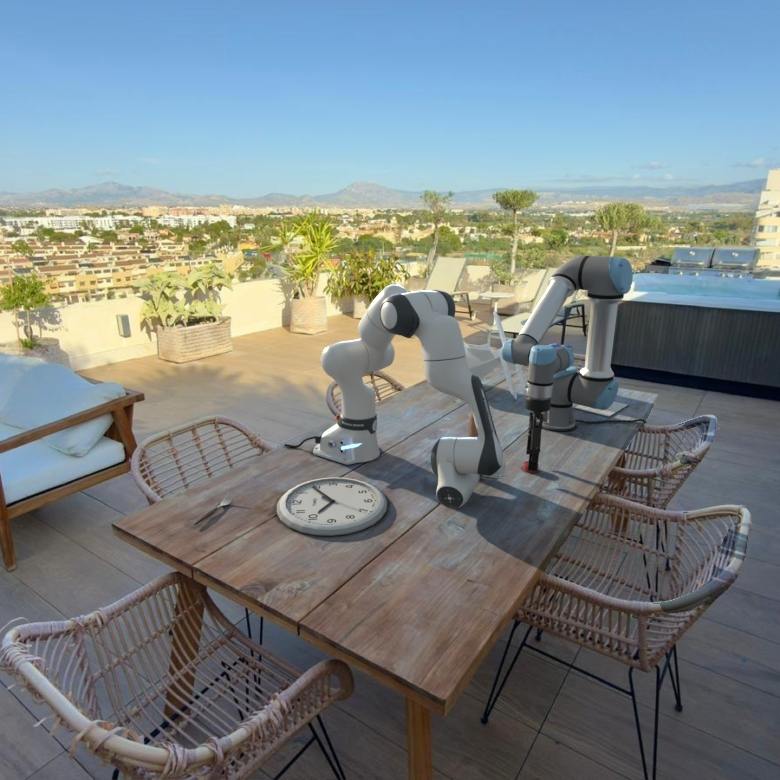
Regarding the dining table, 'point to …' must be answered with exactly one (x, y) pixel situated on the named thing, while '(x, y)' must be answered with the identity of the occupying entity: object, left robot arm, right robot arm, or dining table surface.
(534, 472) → the cap
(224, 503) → the fork
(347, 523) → the wall clock
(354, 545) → the dining table surface
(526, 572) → the dining table surface
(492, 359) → the white plastic object
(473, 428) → the bottle
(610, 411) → the invitation card
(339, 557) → the dining table surface
